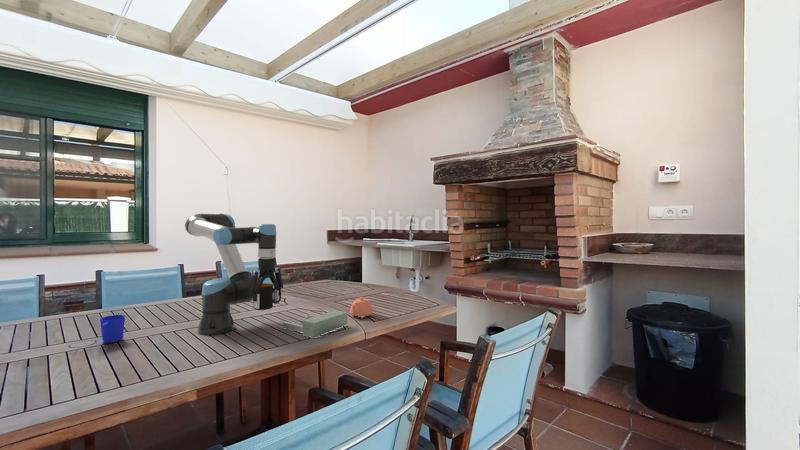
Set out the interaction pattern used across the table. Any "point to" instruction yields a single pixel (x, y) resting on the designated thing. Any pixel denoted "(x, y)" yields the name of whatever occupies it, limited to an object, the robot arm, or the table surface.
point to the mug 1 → (112, 328)
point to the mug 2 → (267, 296)
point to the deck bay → (319, 323)
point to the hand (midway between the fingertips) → (266, 305)
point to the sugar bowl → (361, 307)
